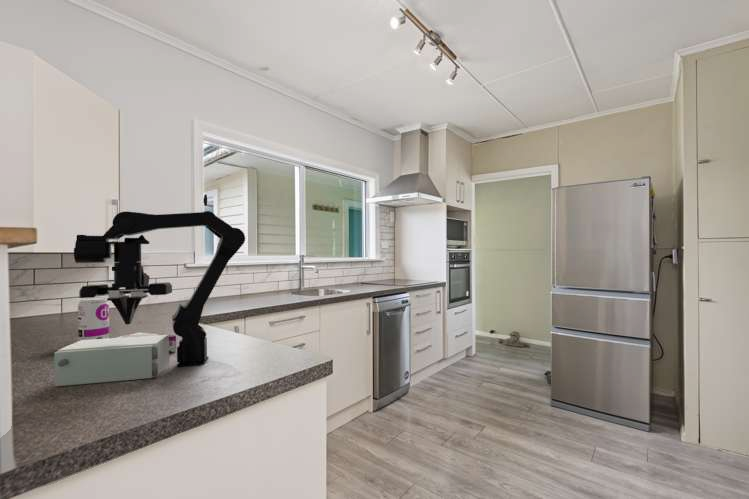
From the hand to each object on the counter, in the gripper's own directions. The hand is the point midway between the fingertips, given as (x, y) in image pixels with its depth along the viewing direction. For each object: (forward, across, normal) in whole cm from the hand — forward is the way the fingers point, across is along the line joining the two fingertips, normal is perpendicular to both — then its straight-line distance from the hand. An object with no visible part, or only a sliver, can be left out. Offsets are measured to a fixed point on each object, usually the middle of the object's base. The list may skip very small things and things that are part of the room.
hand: (128, 324), depth 91 cm
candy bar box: (+10, -3, -13) cm, 17 cm away
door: (+12, +2, +7) cm, 14 cm away
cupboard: (+12, +2, +1) cm, 12 cm away
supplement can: (+12, +24, -38) cm, 47 cm away
